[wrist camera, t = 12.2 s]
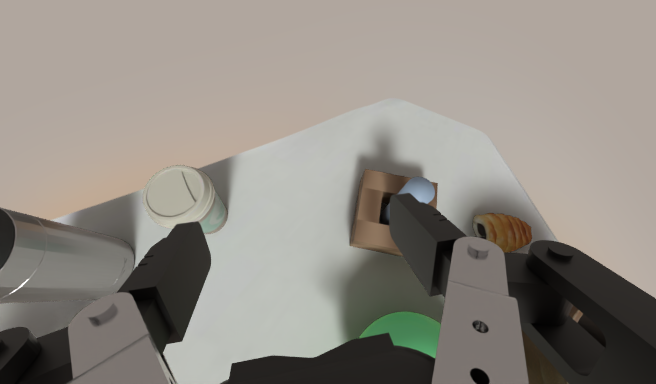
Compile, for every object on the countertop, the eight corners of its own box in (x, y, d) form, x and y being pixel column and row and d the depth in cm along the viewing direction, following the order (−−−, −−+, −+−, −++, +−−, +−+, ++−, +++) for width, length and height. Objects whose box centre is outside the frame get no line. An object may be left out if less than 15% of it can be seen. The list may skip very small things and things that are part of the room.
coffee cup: (231, 243, 42) (201, 226, 31) (178, 241, 42) (128, 223, 31) (239, 194, 45) (214, 162, 34) (190, 192, 45) (148, 159, 34)
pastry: (518, 214, 46) (535, 208, 43) (530, 253, 44) (549, 249, 41) (468, 216, 46) (480, 210, 42) (477, 255, 44) (492, 252, 40)
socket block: (349, 245, 43) (353, 240, 38) (360, 181, 47) (365, 168, 42) (421, 260, 42) (434, 256, 38) (425, 193, 47) (437, 183, 42)
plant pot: (599, 398, 37) (797, 473, 22) (498, 433, 35) (638, 541, 20) (542, 281, 42) (667, 276, 27) (452, 305, 40) (533, 314, 25)
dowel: (378, 226, 44) (404, 200, 31) (380, 207, 45) (407, 174, 32) (398, 231, 44) (434, 206, 31) (400, 211, 45) (435, 179, 32)
